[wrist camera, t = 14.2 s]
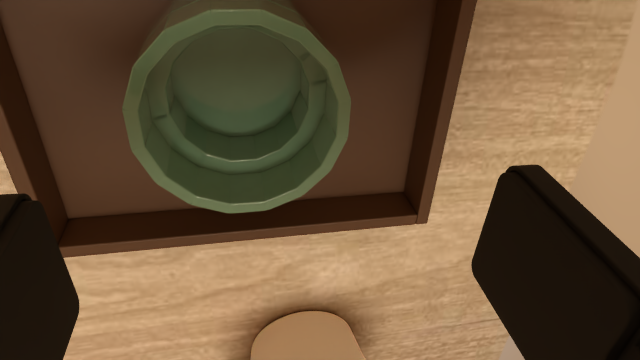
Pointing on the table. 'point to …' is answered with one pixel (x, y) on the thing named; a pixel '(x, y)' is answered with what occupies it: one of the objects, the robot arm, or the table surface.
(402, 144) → the tray
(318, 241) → the table surface
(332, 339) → the cup
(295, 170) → the bowl
